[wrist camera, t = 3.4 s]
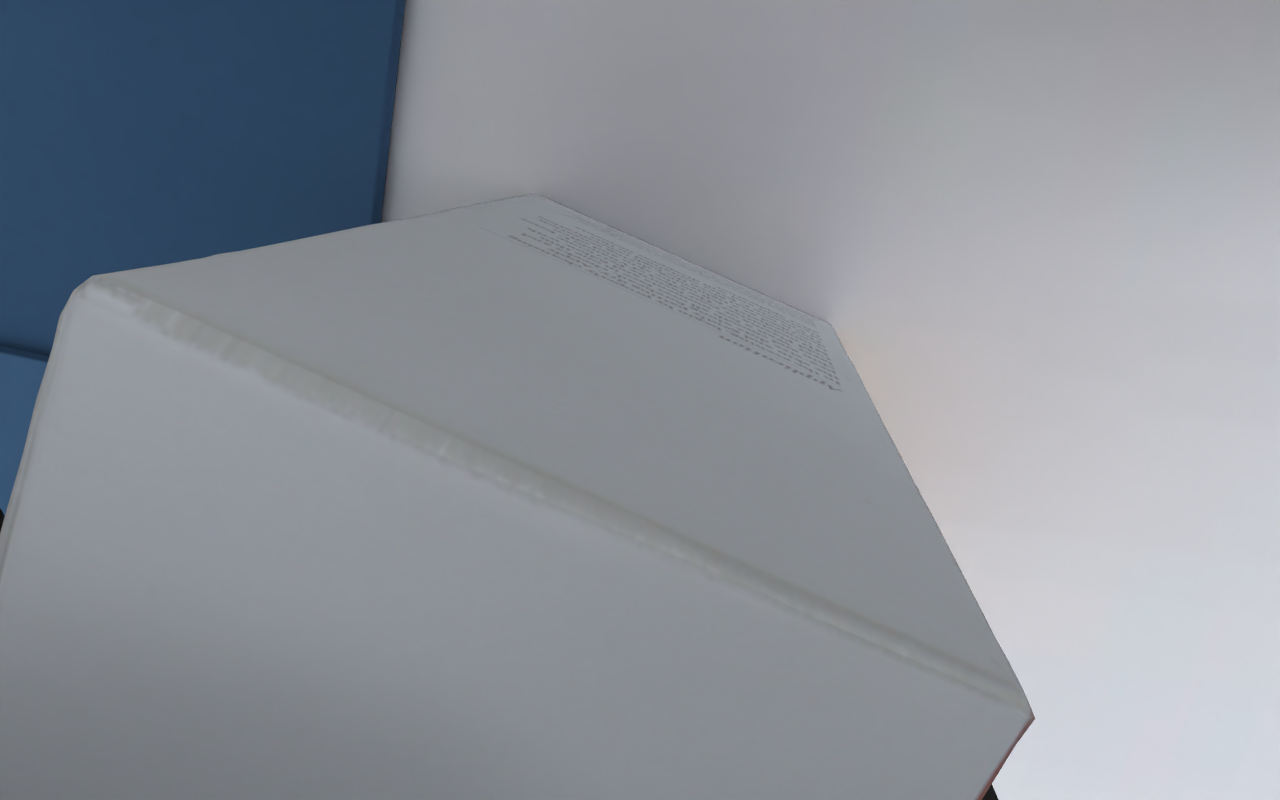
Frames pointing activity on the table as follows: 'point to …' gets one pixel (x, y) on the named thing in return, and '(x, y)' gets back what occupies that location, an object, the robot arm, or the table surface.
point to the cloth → (174, 147)
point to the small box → (476, 538)
